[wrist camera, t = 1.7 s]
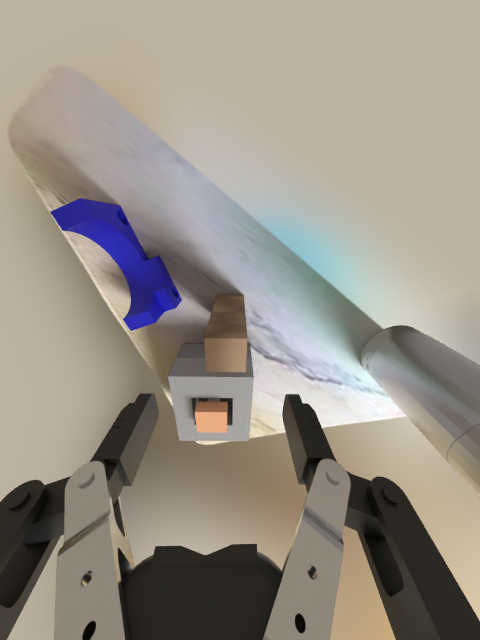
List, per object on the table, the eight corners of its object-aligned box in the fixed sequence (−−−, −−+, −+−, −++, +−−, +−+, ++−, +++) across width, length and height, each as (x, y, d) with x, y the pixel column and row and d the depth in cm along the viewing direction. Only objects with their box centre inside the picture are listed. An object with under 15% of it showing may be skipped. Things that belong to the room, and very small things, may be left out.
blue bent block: (182, 299, 26) (167, 318, 20) (152, 309, 26) (130, 330, 21) (132, 200, 21) (96, 191, 15) (97, 215, 21) (50, 211, 16)
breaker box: (250, 344, 29) (253, 377, 22) (246, 401, 34) (248, 440, 28) (183, 343, 29) (167, 376, 22) (190, 400, 34) (179, 440, 28)
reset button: (227, 390, 26) (226, 412, 23) (227, 410, 28) (226, 432, 25) (199, 390, 26) (194, 411, 23) (201, 410, 27) (197, 432, 24)
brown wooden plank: (243, 294, 25) (247, 338, 15) (242, 318, 27) (245, 372, 17) (217, 294, 25) (204, 337, 15) (217, 318, 27) (206, 371, 17)
